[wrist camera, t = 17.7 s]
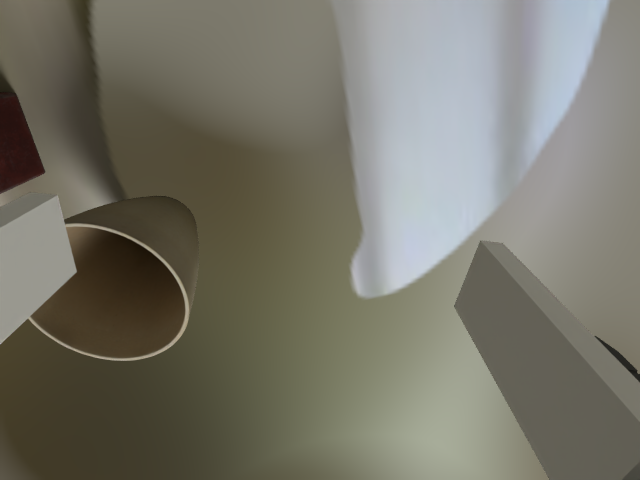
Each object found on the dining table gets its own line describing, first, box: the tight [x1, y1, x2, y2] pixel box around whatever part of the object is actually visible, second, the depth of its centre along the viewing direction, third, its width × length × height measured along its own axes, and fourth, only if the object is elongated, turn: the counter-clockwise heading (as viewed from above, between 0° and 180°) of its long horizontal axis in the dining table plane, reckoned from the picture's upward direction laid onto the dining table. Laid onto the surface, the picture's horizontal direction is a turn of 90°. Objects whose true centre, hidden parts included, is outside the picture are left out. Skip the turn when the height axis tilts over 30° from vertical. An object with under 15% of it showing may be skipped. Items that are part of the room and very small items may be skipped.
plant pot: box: [28, 196, 199, 361], centre depth 37 cm, size 15×15×16 cm
